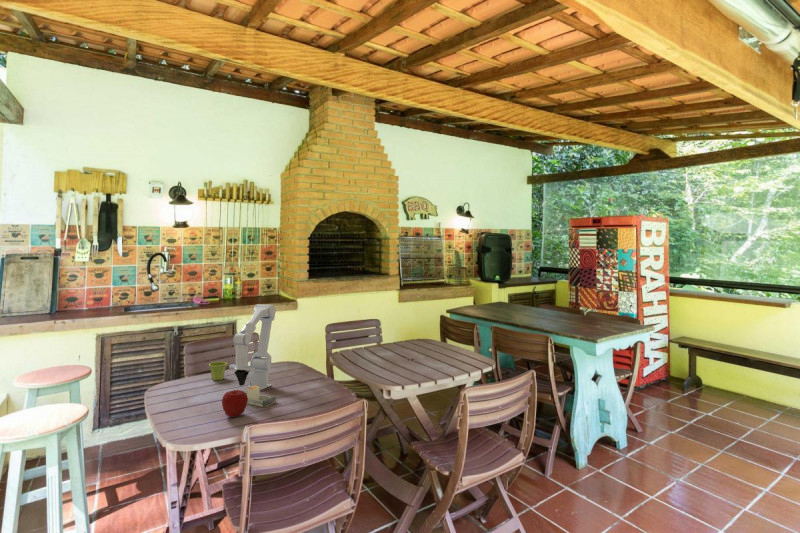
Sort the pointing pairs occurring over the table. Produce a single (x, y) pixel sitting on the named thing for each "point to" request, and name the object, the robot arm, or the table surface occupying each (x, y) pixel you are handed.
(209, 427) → the table surface
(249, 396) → the block
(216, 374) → the plant pot
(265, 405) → the grey piece
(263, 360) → the robot arm
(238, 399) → the apple
